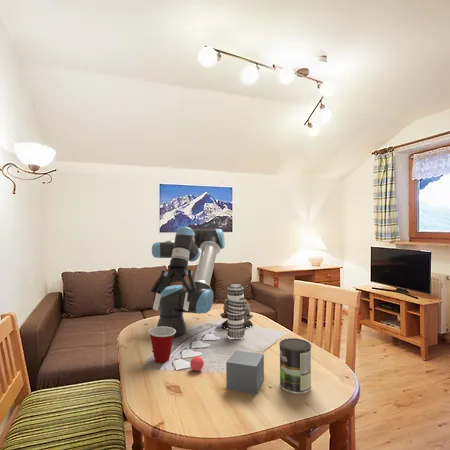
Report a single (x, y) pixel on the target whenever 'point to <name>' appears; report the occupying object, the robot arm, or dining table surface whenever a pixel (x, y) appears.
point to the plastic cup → (161, 342)
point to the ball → (196, 363)
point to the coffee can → (295, 365)
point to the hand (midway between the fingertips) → (170, 310)
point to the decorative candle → (235, 311)
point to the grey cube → (245, 371)
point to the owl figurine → (246, 314)
